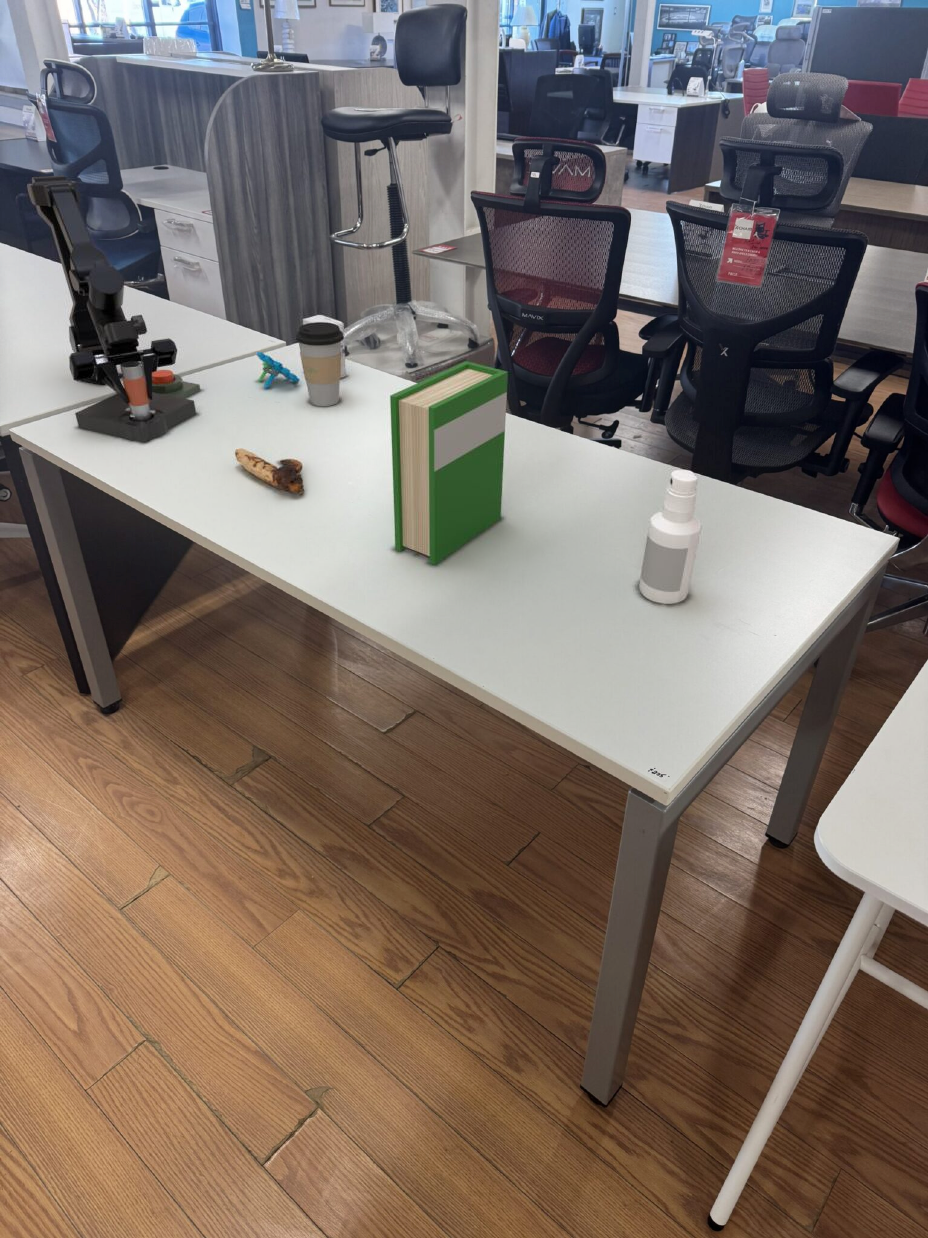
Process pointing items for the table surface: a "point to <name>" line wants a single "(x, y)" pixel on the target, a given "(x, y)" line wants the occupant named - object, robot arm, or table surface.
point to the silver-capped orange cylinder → (136, 391)
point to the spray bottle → (672, 543)
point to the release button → (162, 377)
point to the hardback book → (448, 458)
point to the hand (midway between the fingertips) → (139, 400)
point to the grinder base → (118, 422)
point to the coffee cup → (321, 361)
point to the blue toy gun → (274, 370)
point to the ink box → (341, 326)
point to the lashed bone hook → (273, 471)
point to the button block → (176, 388)
